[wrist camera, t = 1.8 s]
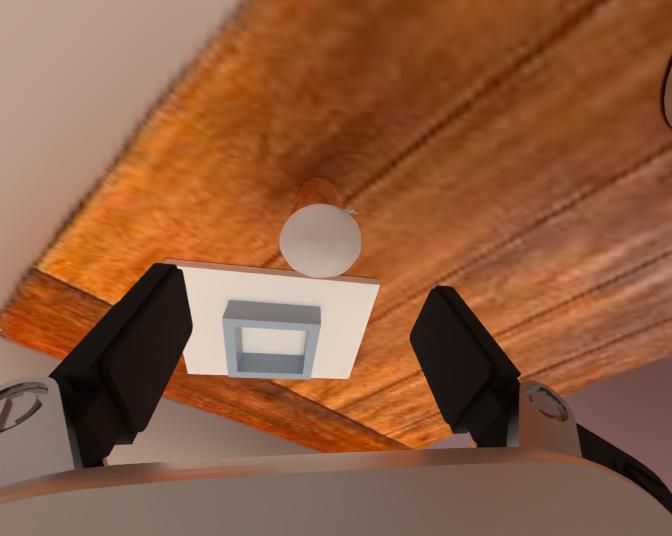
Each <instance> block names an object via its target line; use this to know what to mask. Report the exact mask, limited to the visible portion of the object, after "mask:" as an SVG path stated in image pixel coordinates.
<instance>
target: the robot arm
mask: <svg viewBox="0 0 672 536" xmlns="http://www.w3.org/2000/svg"><path fill="white" fill-rule="evenodd" d="M664 104H665V114H666V117H667V119H668V122H669V124H670V126H671V127H672V66H671V69H670V73H669V76H668V79H667V83H666V90H665V97H664ZM192 330H193V322H192V317H191V311H190V306H189V301H188V295H187V290H186V285H185V279H184V274H183V271H182V269H178V268H177V266H176V265H175V264H166V263H155V264H153V265H152V266H151V267H150V268H149V270H148V271H147V272H146V273H145V274H144V275H143V276H142V277H141V278H140V279H139V280H138V282H137V283H136V284H135V285H134V286H133V287H132V288H131V289H130V290H129V291H128V292H127V293H126V295H125V296H124V297H123V298H122V299H121V300H120V301H119V302H117V303H116V304H115V305H114V306H113V307H112V308H111V309H110V310H109V311H108V312H107V314H106V315H105V316H104V317H103V318H102V319H101V320H100V321H99V322H98V323H97V324H96V325H95V327H94V328H93V329H92V330H91V331H90V332H89V333H88V334H87V335H86V336H85V337H84V338H83V339H82V341H81V342H80V343H79V344H78V345H77V346H76V347H75V348H74V349H73V350H72V351H71V352H70V354H69V355H68V356H67V357H66V358H65V359H64V360H63V361H62V362H61V363H60V365H58V367H57V368H56V369H55V370H54V371H53V372H52V373H51V374H50V375H49V376H37V375H36V376H29V377H23V378H20V379H17V380H13V381H10V382H7V383H5V384H3V385H0V536H672V493H671V492H670V491H669V489H668V488H667V487H666V485H665V484H664V483H663V482H662V481H661V479H660V478H659V477H658V476H657V475H656V474H655V473H654V472H653V471H651V470H650V469H649V468H647V467H646V466H645V465H643V464H642V463H641V462H639V461H638V460H636V459H635V458H633V457H632V456H630V455H628V454H626V453H625V452H623V451H622V450H620V449H618V448H617V447H615V446H614V445H612V444H610V443H609V442H607V441H605V440H604V439H602V438H600V437H599V436H597V435H596V434H594V433H592V432H591V431H589V430H587V429H586V428H584V427H582V426H581V425H579V424H577V423H576V421H575V417H574V414H573V411H572V410H571V408H570V407H569V406H568V404H567V402H566V401H565V400H564V399H563V398H562V397H561V396H560V395H559V394H557V393H556V392H555V391H554V390H552V389H551V388H549V387H547V386H546V385H544V384H542V383H539V382H537V381H533V380H525V381H523V382H522V383H520V382H519V381H518V380H517V378H518V377H519V376H520V375H521V373H520V372H519V371H518V369H517V368H516V367H515V366H514V364H513V363H512V362H511V360H510V359H509V358H508V357H507V355H506V354H505V353H504V352H503V350H502V349H501V348H500V346H499V345H498V344H497V343H496V341H495V340H494V339H493V338H492V336H491V335H490V334H489V332H488V331H487V330H486V329H485V327H484V326H483V325H482V323H481V322H480V321H479V320H478V318H477V317H476V316H475V315H474V313H473V312H472V311H471V309H470V308H469V307H468V306H467V304H466V303H465V302H464V301H463V299H462V298H461V297H460V295H459V294H458V293H457V292H456V290H455V289H454V288H453V287H451V286H439V285H438V286H436V287H435V288H434V289H432V290H431V291H430V293H429V295H428V297H427V299H426V301H425V304H424V306H423V308H422V310H421V312H420V314H419V316H418V318H417V321H416V323H415V325H414V327H413V329H412V331H411V334H410V342H411V345H412V347H413V349H414V352H415V354H416V356H417V359H418V361H419V363H420V366H421V368H422V370H423V373H424V375H425V377H426V379H427V382H428V384H429V386H430V389H431V391H432V393H433V396H434V398H435V400H436V403H437V405H438V407H439V410H440V412H441V414H442V417H443V419H444V421H445V422H446V423H447V424H449V425H450V428H451V430H452V432H453V434H458V433H467V432H468V431H469V432H470V434H471V436H472V441H471V447H470V448H450V449H424V450H398V451H374V452H351V453H329V454H306V455H285V456H264V457H245V458H244V457H243V458H223V459H203V460H184V461H169V462H155V463H139V464H124V465H111V466H108V462H107V458H106V457H107V456H109V454H110V452H111V451H112V449H113V447H114V445H121V444H123V445H124V444H132V443H133V441H134V439H135V437H136V435H137V433H138V432H142V431H144V429H145V428H146V427H147V425H148V423H149V421H150V419H151V417H152V415H153V413H154V411H155V408H156V406H157V404H158V402H159V400H160V398H161V396H162V394H163V392H164V390H165V388H166V386H167V384H168V382H169V380H170V377H171V375H172V373H173V371H174V369H175V367H176V365H177V363H178V361H179V359H180V357H181V355H182V353H183V351H184V349H185V346H186V344H187V342H188V340H189V338H190V336H191V334H192Z"/></svg>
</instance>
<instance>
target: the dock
mask: <svg viewBox="0 0 672 536" xmlns="http://www.w3.org/2000/svg"><path fill="white" fill-rule="evenodd" d="M163 263H166V264H175V265H176V266H177V268H178V269H182V271H183V274H184V279H185V285H186V290H187V295H188V301H189V306H190V311H191V317H192V322H193V330H192V334H191V336H190V338H189V340H188V342H187V344H186V346H185V349H184V351H183V354H184V358H185V362H186V366H187V370H188V374H213V375H228V377H242V378H275V379H307V380H310V379H311V378H338V379H349V376H350V373H351V370H352V367H353V364H354V361H355V358H356V355H357V352H358V349H359V346H360V343H361V340H362V337H363V334H364V331H365V328H366V325H367V322H368V319H369V316H370V313H371V310H372V307H373V304H374V301H375V298H376V295H377V292H378V289H379V286H380V284H379V281H378V279H373V278H362V277H352V276H341V275H338V276H334V277H325V278H314V277H309V276H307V275H304V274H302V273H300V272H298V271H290V270H279V269H269V268H258V267H248V266H238V265H227V264H217V263H207V262H196V261H186V260H176V259H166V260H165V261H164V262H163Z"/></svg>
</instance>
